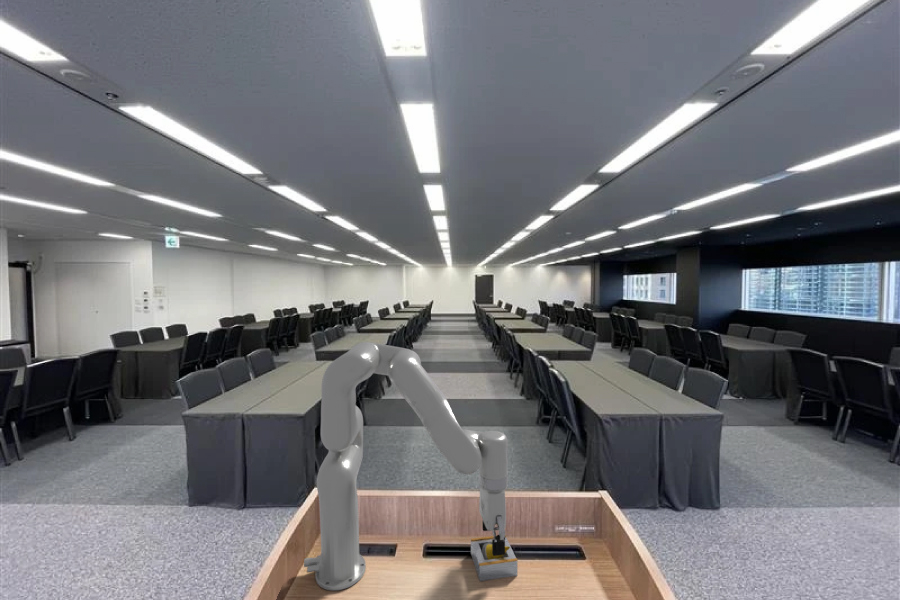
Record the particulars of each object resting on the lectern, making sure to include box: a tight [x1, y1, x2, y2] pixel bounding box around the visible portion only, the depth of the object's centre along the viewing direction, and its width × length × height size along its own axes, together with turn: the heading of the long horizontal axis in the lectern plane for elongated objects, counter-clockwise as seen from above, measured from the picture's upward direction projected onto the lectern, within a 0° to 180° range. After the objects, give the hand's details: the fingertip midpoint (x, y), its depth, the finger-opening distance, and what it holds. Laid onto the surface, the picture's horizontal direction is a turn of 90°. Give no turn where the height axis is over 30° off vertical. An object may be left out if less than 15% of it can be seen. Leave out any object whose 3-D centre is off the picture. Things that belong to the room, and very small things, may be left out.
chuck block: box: [470, 534, 518, 582], centre depth 104 cm, size 10×10×4 cm
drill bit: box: [482, 543, 510, 560], centre depth 104 cm, size 5×5×10 cm
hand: (493, 541), depth 104 cm, fingers open, 9 cm apart
